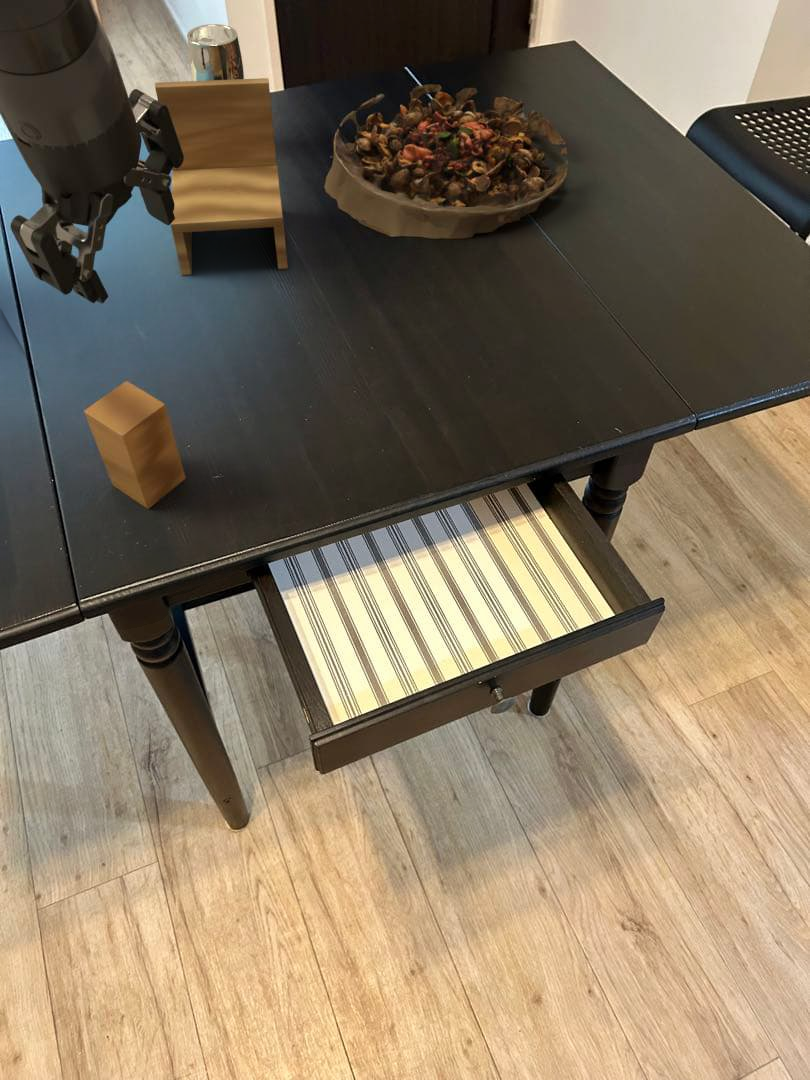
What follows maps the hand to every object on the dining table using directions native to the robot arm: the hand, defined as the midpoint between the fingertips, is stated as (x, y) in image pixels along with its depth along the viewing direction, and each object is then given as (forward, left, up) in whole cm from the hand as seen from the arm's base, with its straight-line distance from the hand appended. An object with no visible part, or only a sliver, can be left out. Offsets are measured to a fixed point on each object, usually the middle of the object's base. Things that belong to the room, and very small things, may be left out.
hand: (129, 256), depth 65 cm
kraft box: (-4, -1, -23) cm, 23 cm away
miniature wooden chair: (+24, +29, -23) cm, 44 cm away
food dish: (+57, +26, -23) cm, 66 cm away
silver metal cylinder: (+36, +50, -23) cm, 66 cm away
